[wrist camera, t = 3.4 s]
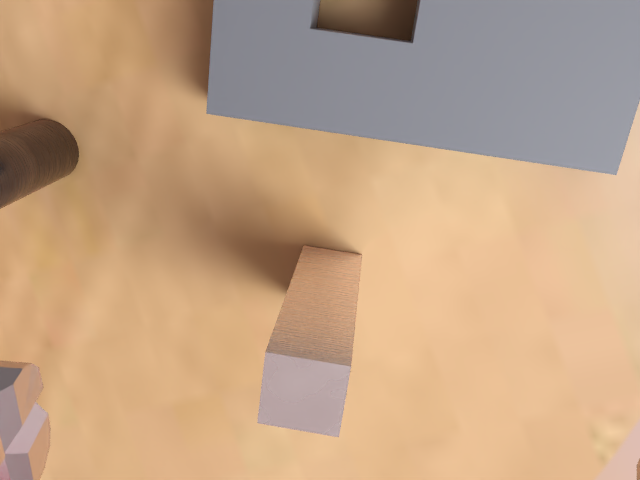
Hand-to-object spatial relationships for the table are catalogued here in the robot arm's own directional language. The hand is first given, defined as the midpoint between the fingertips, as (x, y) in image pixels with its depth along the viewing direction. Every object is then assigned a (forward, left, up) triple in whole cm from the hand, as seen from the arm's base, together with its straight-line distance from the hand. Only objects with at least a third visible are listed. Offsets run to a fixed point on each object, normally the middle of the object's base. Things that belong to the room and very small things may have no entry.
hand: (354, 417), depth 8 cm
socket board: (-1, +7, -26) cm, 27 cm away
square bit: (+2, -9, -26) cm, 28 cm away
